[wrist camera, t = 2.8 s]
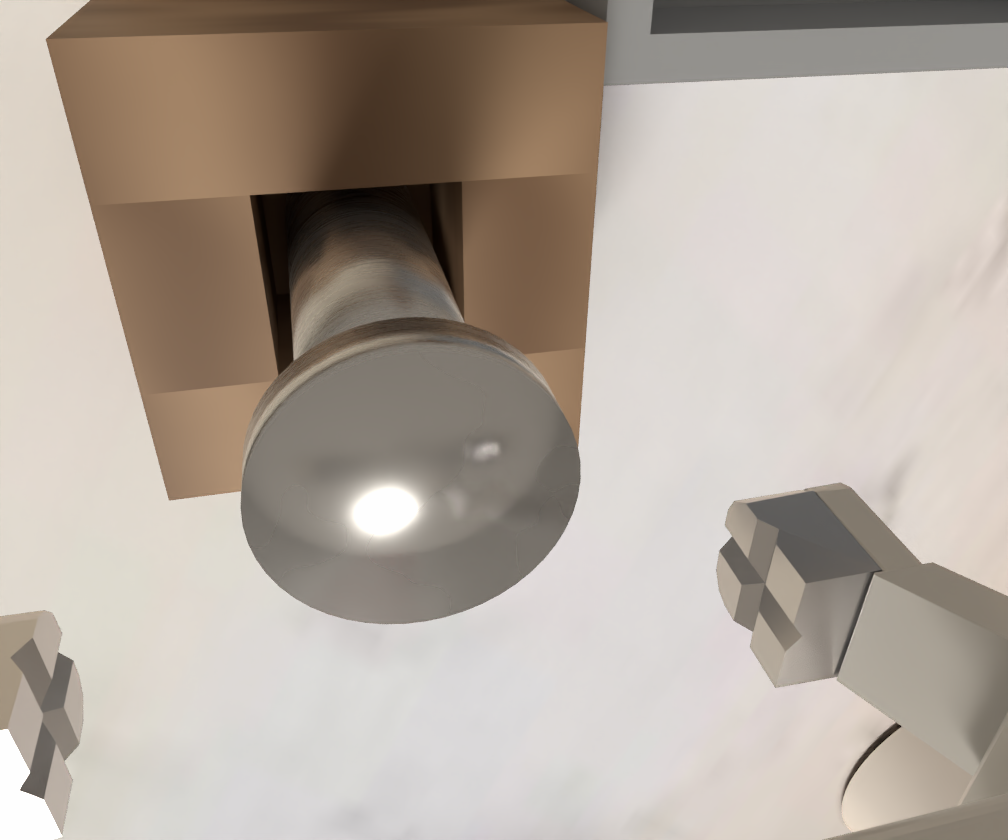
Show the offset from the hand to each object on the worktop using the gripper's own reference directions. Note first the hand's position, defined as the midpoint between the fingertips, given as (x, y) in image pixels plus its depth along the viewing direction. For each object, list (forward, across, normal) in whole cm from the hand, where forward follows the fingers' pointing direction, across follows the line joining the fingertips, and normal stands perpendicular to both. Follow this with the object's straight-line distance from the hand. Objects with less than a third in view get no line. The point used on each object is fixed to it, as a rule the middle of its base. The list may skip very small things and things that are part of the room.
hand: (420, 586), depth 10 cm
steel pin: (+14, 0, 0) cm, 14 cm away
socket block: (+15, 0, 0) cm, 15 cm away
